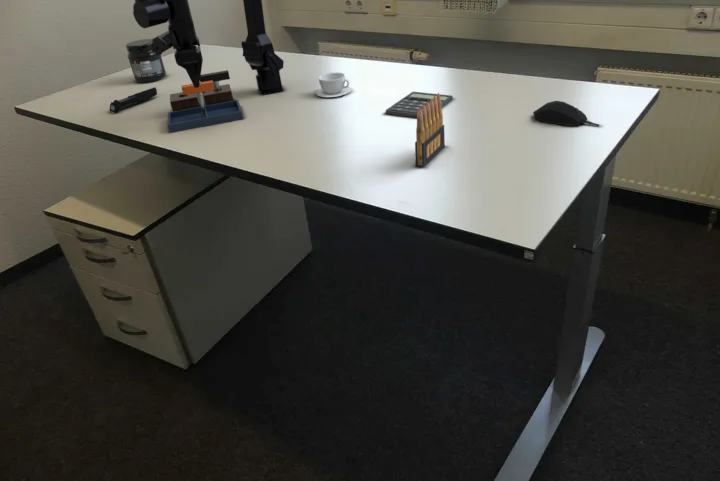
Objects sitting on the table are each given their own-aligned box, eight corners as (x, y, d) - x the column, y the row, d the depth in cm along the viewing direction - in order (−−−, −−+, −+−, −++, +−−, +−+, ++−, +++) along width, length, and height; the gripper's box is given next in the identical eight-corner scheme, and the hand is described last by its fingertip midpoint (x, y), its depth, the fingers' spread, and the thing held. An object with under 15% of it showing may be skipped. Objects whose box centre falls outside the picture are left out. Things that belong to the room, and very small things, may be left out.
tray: (239, 106, 153) (237, 99, 152) (243, 118, 144) (241, 111, 143) (170, 119, 149) (167, 112, 148) (169, 132, 140) (167, 125, 139)
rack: (232, 99, 159) (229, 83, 156) (235, 106, 153) (231, 90, 151) (174, 109, 156) (170, 94, 153) (174, 117, 150) (169, 101, 147)
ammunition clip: (437, 145, 118) (436, 91, 112) (445, 146, 117) (444, 91, 111) (415, 166, 111) (413, 109, 104) (423, 167, 110) (421, 110, 103)
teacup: (310, 98, 153) (307, 81, 150) (325, 86, 161) (323, 70, 158) (342, 99, 149) (341, 82, 147) (356, 87, 157) (355, 71, 154)
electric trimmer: (161, 97, 167) (158, 87, 166) (116, 113, 158) (112, 103, 156) (154, 96, 170) (151, 85, 168) (109, 111, 160) (105, 101, 158)
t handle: (220, 113, 148) (212, 80, 143) (220, 115, 146) (212, 82, 141) (190, 118, 146) (181, 85, 141) (190, 121, 145) (181, 87, 140)
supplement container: (154, 72, 193) (144, 37, 186) (173, 75, 187) (163, 39, 180) (129, 81, 186) (117, 45, 179) (147, 85, 180) (136, 47, 174)
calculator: (385, 109, 136) (412, 90, 147) (385, 113, 137) (413, 94, 147) (427, 115, 131) (453, 94, 141) (427, 118, 131) (453, 98, 142)
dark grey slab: (234, 101, 157) (227, 70, 152) (235, 103, 155) (228, 71, 150) (206, 106, 155) (198, 75, 150) (207, 108, 154) (199, 76, 149)
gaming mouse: (593, 131, 117) (596, 113, 115) (528, 119, 125) (529, 102, 123) (604, 121, 121) (607, 103, 118) (540, 110, 129) (542, 94, 127)
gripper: (147, 17, 139) (164, 78, 147) (144, 31, 123) (163, 98, 132) (191, 10, 141) (206, 71, 149) (194, 23, 126) (210, 90, 134)
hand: (196, 82), depth 141 cm, fingers open, 9 cm apart
